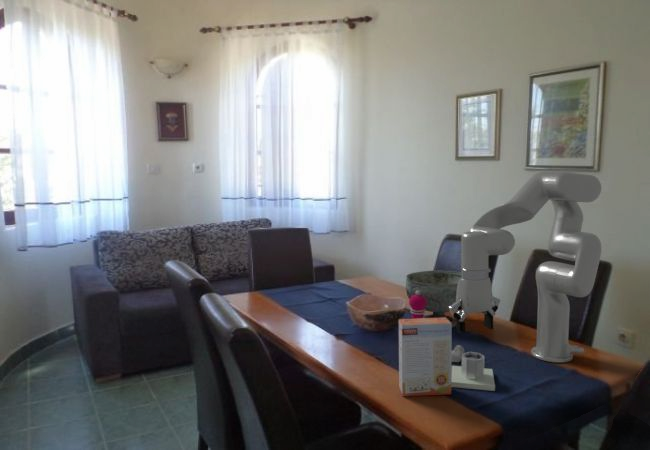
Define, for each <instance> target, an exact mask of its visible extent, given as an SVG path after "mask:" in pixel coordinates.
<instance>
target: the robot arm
mask: <svg viewBox="0 0 650 450" xmlns="http://www.w3.org/2000/svg"><path fill="white" fill-rule="evenodd" d="M601 193H602V183H601V181H600V179H599V178H598V177H596V176H595V175H593V174H582V173H576V172H567V171H539V172H536V173H534V174H532V175H531V176H530V178H528V180H527V181H526V182H525V183H524V184H523V185H522V187H521V188H520V189H519V190H518V191H517V192H516V193H515V194H514V195H513V197H511V199H510V200H507V201H506V202H504V203H502V204H500V205H498V206H496V207H493V208H492V209H490V210H489V211H487V212H485V213H484V214H482V215H481V216H480V217H479V218H478V219H477V220H476V222H474V223H473V225H472V226H471V227H470V229H469V231H465V232H463V233H462V234H461V237H460V248H461V249H460V251H461V252H460V253H461V254H460V256H461V257H460V258H461V259H460V260H461V266H460V267H461V271H460V272H461V278H460V279H459V281H458V286H457V293H456V302H455V303H453V304H452V305H451V306H449V310H450V311H449V313H450V314H451V317H452V318H453V319H454V320H455V322H456V331H457V333H459V334H460V335H463V336H464V335H466V321H464V320H465V319H466V318H467V316H468V315H472V314H478V313H484V312H485V313H484V315H483V316H484V317H483V318H484V319H483V320H484V321H483V322H484V323H483V325H484V327H486V328H487V329H489V330H494V316H495V315H496V312H497V310H498V309H499V305H500V303H501V299H500V298H497V297H495V296H493V287H492V282H491V278H490V277H489V273H491V271H492V269H491V268H490V267H489V256H503V255H507V254H509V253H510V252H512V250H513V249H514V247H515V245H516V244H515V243H516V240H515V237H514V234H513V233H511V231H508V230H505V229H503V228H505V227H508V226H509V227H510V226H513V225H517V224H521V223H525V222H528V221H531V220H533V219H534V218H535V216H536V215H537V214H538V213H539V212H540V210H542V208H543V207H544V206H545V205H546V204H547V203H548V201H551V203H552V206H553V208H554V209H553V211H554V217H553V222H552V227H551V232H550V234H549V239H548V242H547V243H548V245H547V250H548V253H549V255H550V256H552V257H554V258H558V259H563V260H567V261H571V262H575V263H574V265H573V264H568V263H564V262H558V261H554V260H553V261H552V260H551V261H549V260H548V261H544V262H542V263H540V264H539V265H538V267H536V270H535V281H536V283H535V284H536V287H537V322H536V324H537V325H536V346H533V347H532V348H531V350H530V354H531V355H532V356H533V357H534V358H536V359H538V360H541V361H546V362H549V363H550V362H551V363H559V364H560V363H568V362H571V361H573V359H574V358H573V357H574V356H573V355H574V354H578V355H583V354H585V348H584V347H579V346H578V345H571V344H570V343H569V330H570V307H571V306H570V301H569V299H568V296H572V297H576V298H585V297H587V296H588V295H590V293H591V292H592V290H593V288H594V284H595V282H596V277H597V273H598V269H599V264H600V260H601V256H602V242H601V240H600V238H599V237H598V236H597V235H596V234H594V233H591V232H587V231H582V227H583V222H584V214H583V210H582V208H581V207H580V205H579V203H592V202H594V201H596V200H597V199H598V198H599V197H600V196H601ZM567 295H568V296H567Z"/></svg>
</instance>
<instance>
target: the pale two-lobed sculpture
mask: <svg viewBox="0 0 650 450" xmlns="http://www.w3.org/2000/svg"><path fill="white" fill-rule="evenodd" d="M463 353H466V352H465V349H464V346H463V345H460V344H457V345H455V346H454V349H452V363H460V362H462V354H463Z"/></svg>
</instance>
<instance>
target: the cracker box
mask: <svg viewBox="0 0 650 450" xmlns="http://www.w3.org/2000/svg"><path fill="white" fill-rule="evenodd" d="M452 328H453V327H452V323H451V322H450V321H449V320H448V319H447V318H418V319H412V318H399V319H398V379H399V380H398V384H399V386H398V387H399V390H400V394H401V395H402V397H419V396H440V395H441V396H442V395H443V396H445V395H452V387H451V378H452V366H453V365H452V363H453V362H452V350H453V349H452V347H453V346H452V343H453V341H452V340H453V339H452V336H453V335H452V334H453V333H452V330H453V329H452Z"/></svg>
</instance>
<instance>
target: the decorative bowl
mask: <svg viewBox="0 0 650 450" xmlns="http://www.w3.org/2000/svg"><path fill="white" fill-rule="evenodd" d="M405 277H406V281H405V285H406V286H405V291H406V296H407V297H408V300H410V298H411V297H412V296H413V295H416V294H415V292H416V291H420V295H422V296H424V297H425V299H426V306H425V307H424V309H425V312H430V313H432V314H427V315H425V316H423V318H447V319H448V320H449V321H450V322H451V323H452V328H454V327H456V326H457V322H456V319H455V318H454V317H453V316H450V315H446V314H445V313H447V312H448V313H450V310H449V306H451V305H452V304H453V303H455V302H456V293H457V286H458V281H459V279H460V278H461V271H455V270H454V271H453V270H439V269H438V270H423V271H416V272H411V273H408V274H406V276H405Z"/></svg>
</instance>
